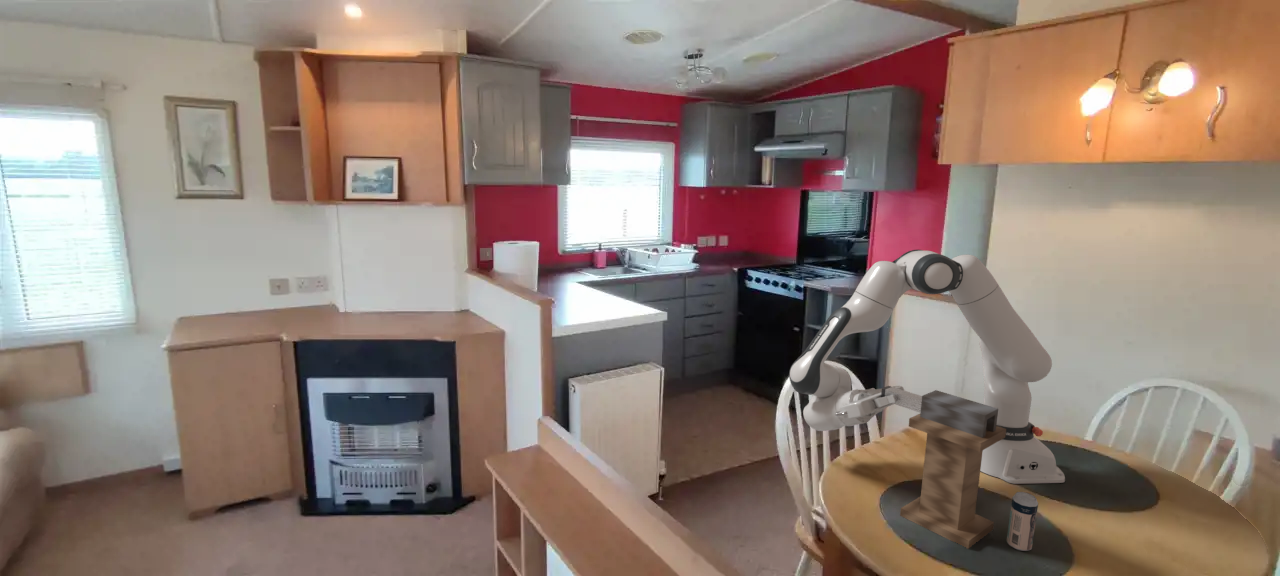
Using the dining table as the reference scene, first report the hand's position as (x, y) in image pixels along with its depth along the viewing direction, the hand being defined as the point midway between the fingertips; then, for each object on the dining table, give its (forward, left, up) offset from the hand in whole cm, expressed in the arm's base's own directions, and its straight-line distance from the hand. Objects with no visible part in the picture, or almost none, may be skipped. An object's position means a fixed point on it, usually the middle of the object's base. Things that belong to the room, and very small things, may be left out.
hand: (900, 395), depth 147 cm
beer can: (-23, +17, -27) cm, 39 cm away
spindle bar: (-5, +5, -2) cm, 7 cm away
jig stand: (-10, +10, -27) cm, 31 cm away
